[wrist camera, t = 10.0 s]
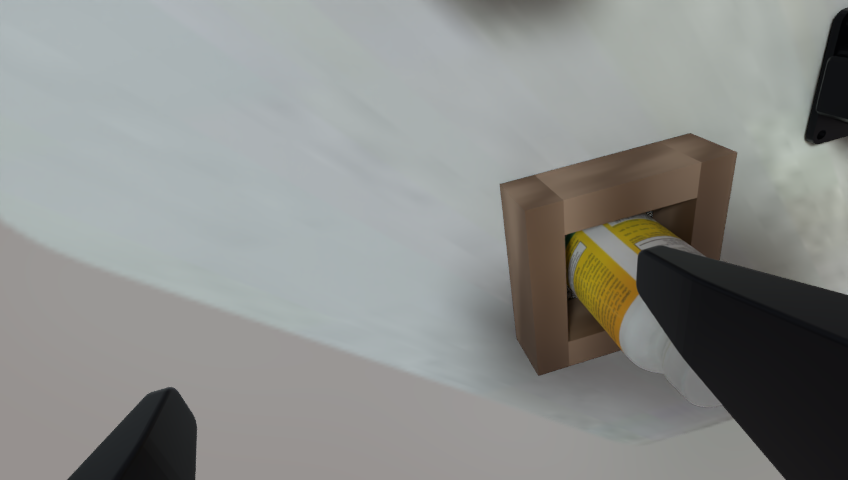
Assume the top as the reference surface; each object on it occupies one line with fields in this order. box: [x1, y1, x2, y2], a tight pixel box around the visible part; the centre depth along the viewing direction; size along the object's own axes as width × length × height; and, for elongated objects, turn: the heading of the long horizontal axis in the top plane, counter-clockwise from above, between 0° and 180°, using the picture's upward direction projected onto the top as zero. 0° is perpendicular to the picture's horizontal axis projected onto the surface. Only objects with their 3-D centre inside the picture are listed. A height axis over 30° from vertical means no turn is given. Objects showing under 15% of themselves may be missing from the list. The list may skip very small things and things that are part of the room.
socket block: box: [500, 133, 737, 376], centre depth 25 cm, size 10×10×3 cm
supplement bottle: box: [565, 213, 722, 408], centre depth 22 cm, size 5×5×10 cm
